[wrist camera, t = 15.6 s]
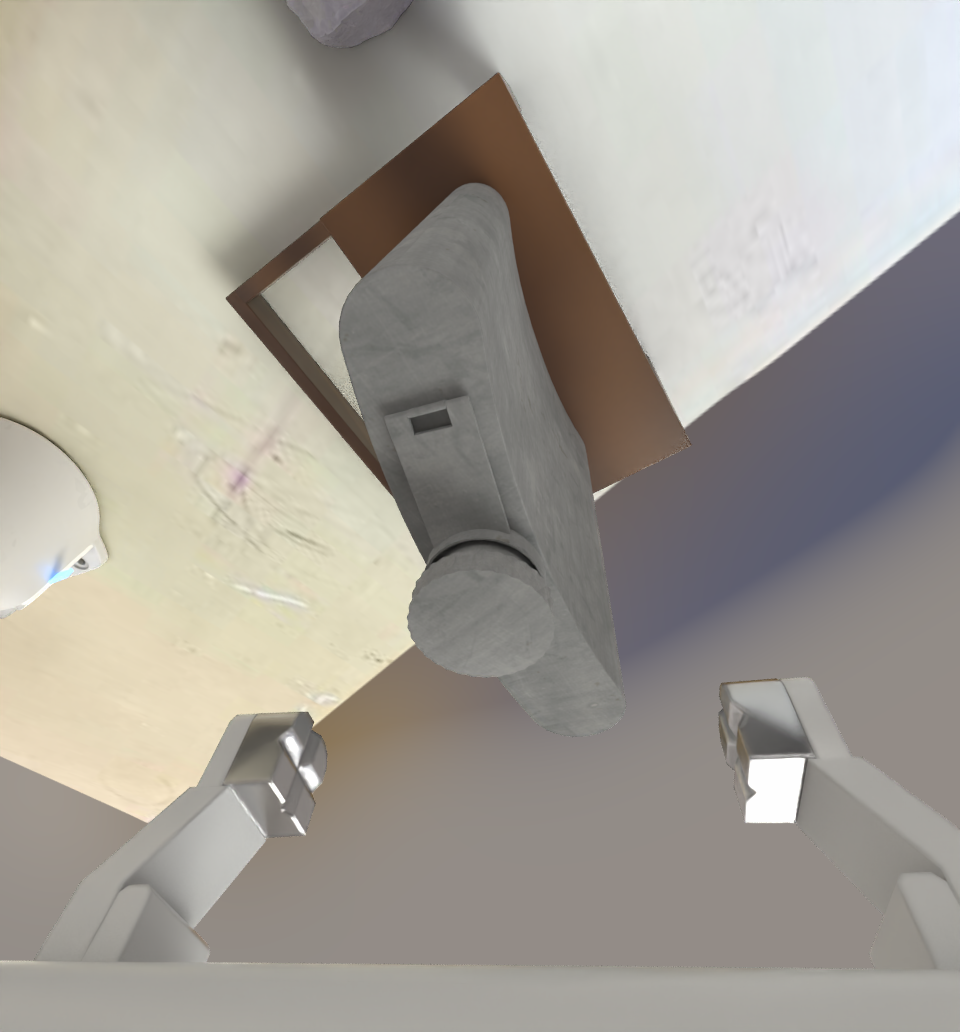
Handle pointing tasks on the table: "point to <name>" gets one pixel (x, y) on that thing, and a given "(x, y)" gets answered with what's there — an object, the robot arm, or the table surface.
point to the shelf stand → (542, 272)
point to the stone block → (347, 19)
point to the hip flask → (484, 467)
